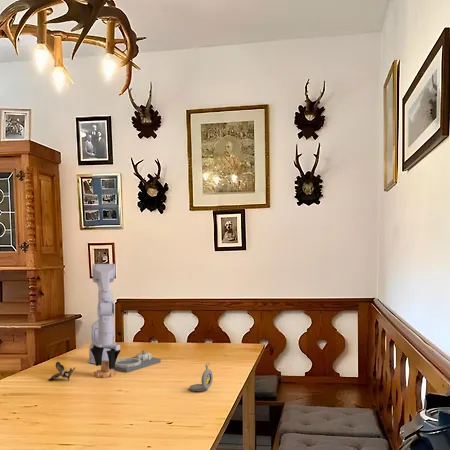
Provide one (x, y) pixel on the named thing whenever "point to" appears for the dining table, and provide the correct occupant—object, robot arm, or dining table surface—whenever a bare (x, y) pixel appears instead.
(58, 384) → the dining table surface
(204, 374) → the pocket watch
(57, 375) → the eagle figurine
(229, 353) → the dining table surface
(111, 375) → the planet gear
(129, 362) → the carrier plate
